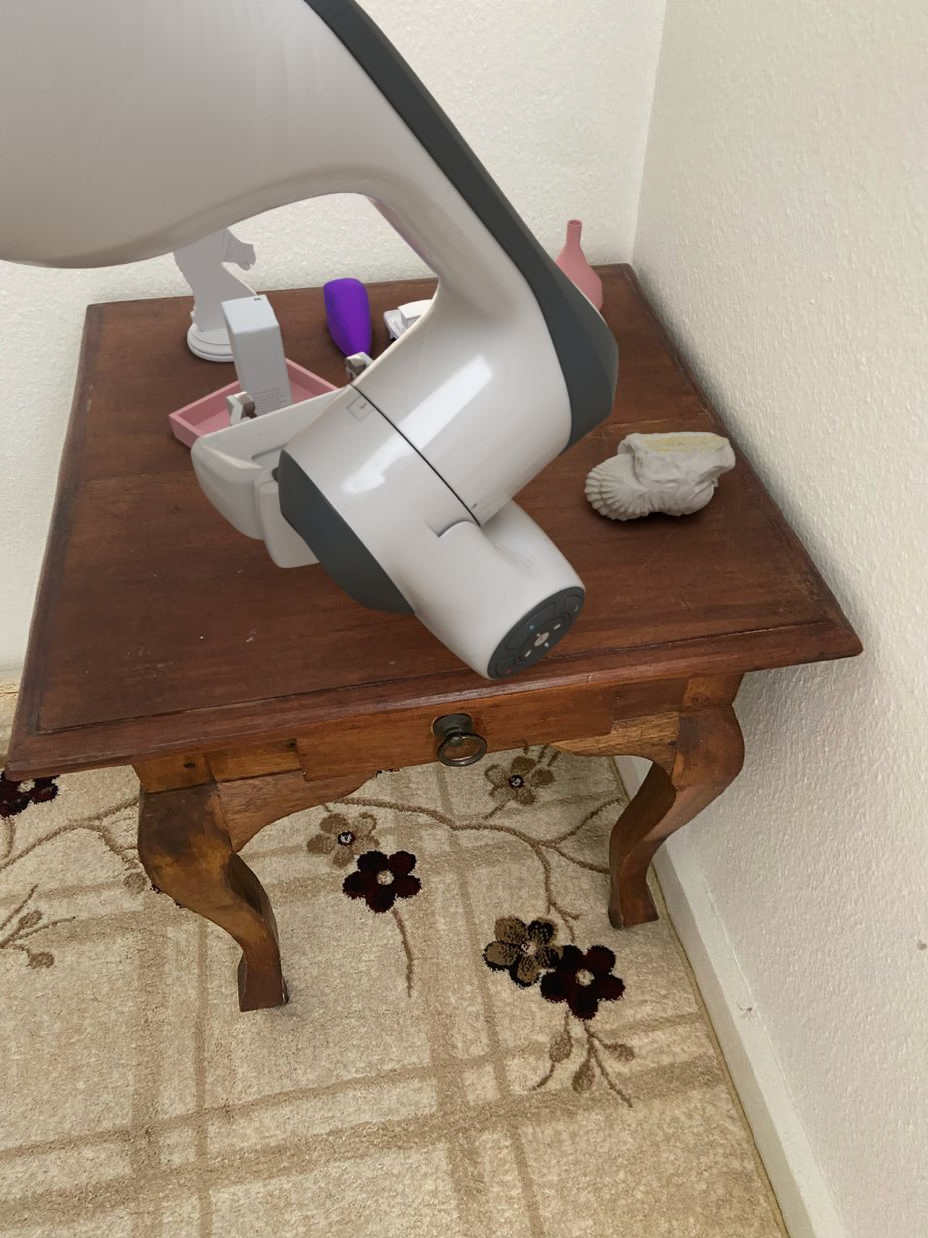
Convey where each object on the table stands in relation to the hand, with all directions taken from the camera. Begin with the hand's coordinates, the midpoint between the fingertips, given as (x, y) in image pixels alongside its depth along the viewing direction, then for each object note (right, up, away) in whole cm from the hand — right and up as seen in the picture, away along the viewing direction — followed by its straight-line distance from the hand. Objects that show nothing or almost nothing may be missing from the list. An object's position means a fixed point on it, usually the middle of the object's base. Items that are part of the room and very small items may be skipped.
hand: (296, 382), depth 63 cm
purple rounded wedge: (0, +14, +34) cm, 37 cm away
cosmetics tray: (-7, +1, +23) cm, 24 cm away
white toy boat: (+9, +15, +35) cm, 40 cm away
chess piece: (-14, +14, +34) cm, 40 cm away
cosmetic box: (-7, +2, +22) cm, 23 cm away
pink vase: (+24, +16, +36) cm, 46 cm away
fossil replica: (+29, -7, +15) cm, 33 cm away
